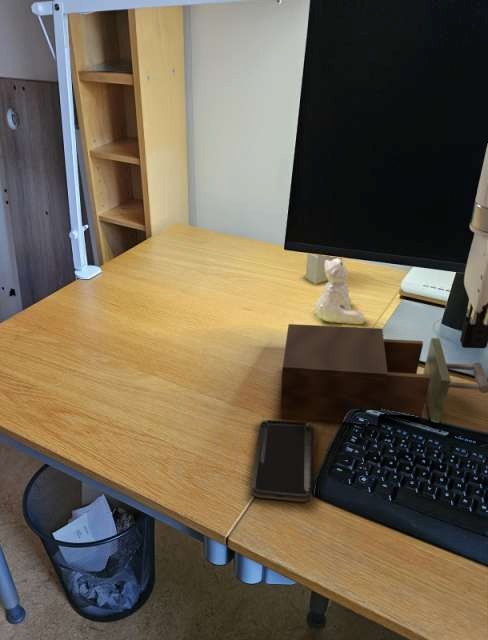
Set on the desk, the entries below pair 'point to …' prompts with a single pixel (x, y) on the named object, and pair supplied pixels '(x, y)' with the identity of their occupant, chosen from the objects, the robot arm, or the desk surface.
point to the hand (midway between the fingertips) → (472, 344)
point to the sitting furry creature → (337, 296)
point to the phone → (284, 461)
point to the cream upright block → (317, 267)
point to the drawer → (422, 378)
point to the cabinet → (332, 372)
